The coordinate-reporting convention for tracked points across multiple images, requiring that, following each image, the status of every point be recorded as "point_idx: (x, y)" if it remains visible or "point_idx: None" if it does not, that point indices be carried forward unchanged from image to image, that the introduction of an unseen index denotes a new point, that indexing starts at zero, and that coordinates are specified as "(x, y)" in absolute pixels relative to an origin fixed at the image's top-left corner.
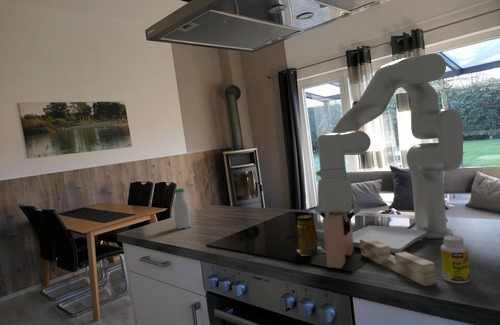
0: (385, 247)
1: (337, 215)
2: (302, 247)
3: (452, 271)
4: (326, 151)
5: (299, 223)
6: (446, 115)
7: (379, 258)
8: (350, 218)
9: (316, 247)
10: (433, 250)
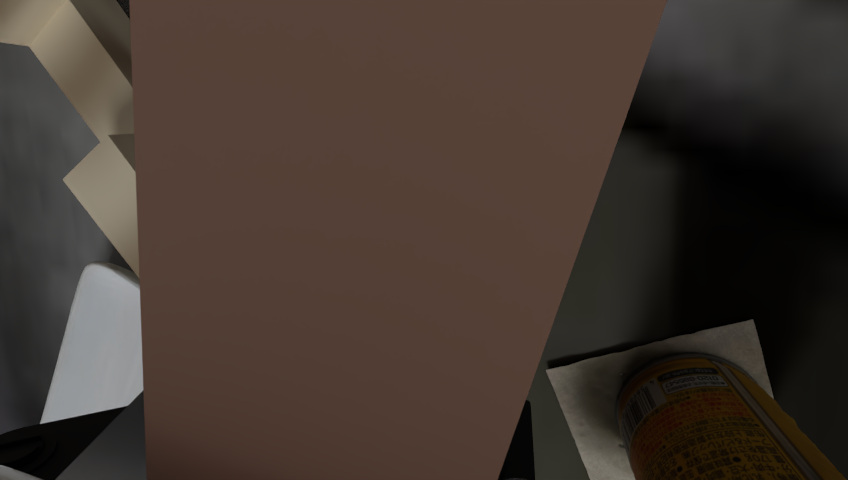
0: (88, 158)
1: (220, 406)
2: (766, 399)
3: None
4: None
5: None
6: None
7: None
8: (116, 414)
9: (629, 411)
10: (27, 334)
